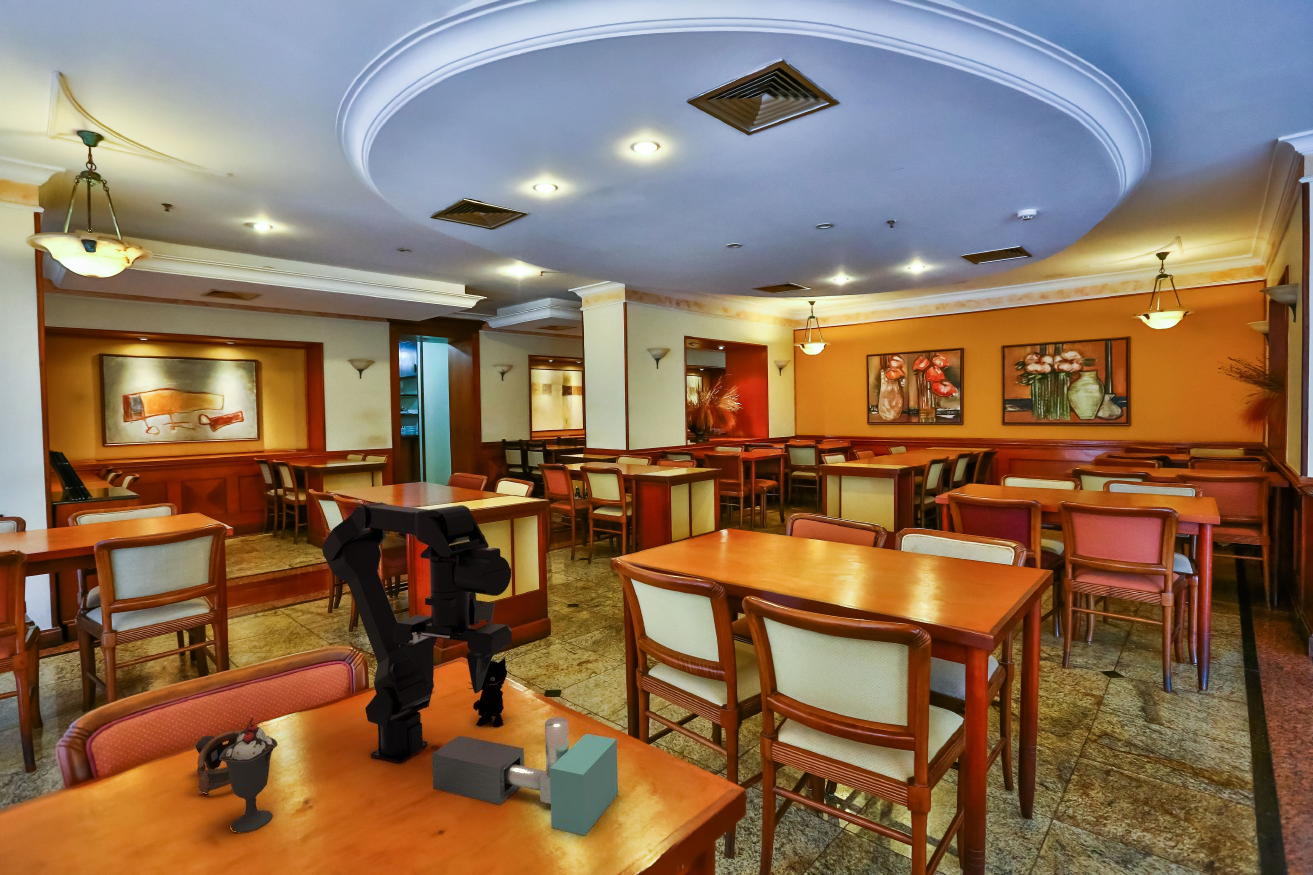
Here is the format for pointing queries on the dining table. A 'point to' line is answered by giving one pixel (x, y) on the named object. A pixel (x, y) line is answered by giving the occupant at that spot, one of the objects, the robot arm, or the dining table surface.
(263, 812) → the sundae
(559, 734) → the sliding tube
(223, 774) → the strapped goggles
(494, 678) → the cat figurine
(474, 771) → the grey rectangular box
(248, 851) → the dining table surface
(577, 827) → the teal block
